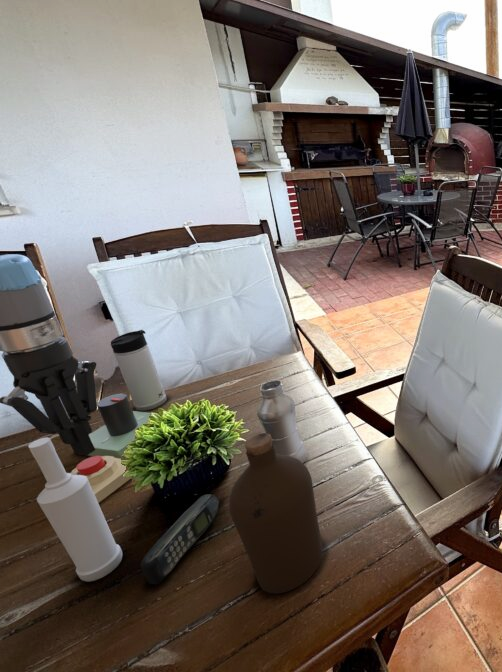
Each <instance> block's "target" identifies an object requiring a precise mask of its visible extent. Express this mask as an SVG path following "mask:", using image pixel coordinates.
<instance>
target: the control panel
mask: <svg viewBox="0 0 502 672" xmlns="http://www.w3.org/2000/svg"><path fill="white" fill-rule="evenodd" d="M132 411H133V413H134V416H135V418H136V421H137V423H138V425H137V427H136V428H135V429H134V430H132V431H130V432H128V433H126V434H123V435H120V436H111V435H110V434H109V432H108V430H107V427H106V425H105V424H104V425H102V426H100V427H99V428H98V429H96V430H93V431H92V432H91V433H90V434H88V435H89V437H90V439H91V441H92V444H93V446H94V448H95V451H93V452H92V453H90V454H88V455H86V456H88V457H93V456H113V457H114V458H120V459H121V458H122V455H123V453H124V451H125V449H126V447H127V445H128V444H129V443H130V442H132V441H133V440H134V439H135V430H136V429H137V428H139V427H140V426H141V425H143V424H146V423H148V419H149V416H150V414H151V413H152V412H148V411H138V410H132Z"/></svg>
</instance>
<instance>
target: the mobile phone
mask: <svg viewBox="0 0 502 672" xmlns="http://www.w3.org/2000/svg"><path fill="white" fill-rule="evenodd" d="M219 504H220V500H218V497H217V495H216V494H208V493H207V494H203V495H201V496H200V497H199V498H198V499H197V500H196V501H195V502H194V503H193V504H192V505H191V506H190V507H188V509H186V511H184V512H183V513H182V515H180V517H179V518H177V520H176V521H175V522H174V523H173V525H171V526H170V528H169V529H167V531H166V532H165V533H164V534H163V535H161V537H160V538H159V539H158V541H157V542H156V543H155V544H153V546H152V547H151V548H150V549H149V550H148V552H146V554H145V555H144V557H143V559H142V560H141V563H140V568H141V571H142V573H143V575H144V578H146V581H147V583H149V584H151V585H159V584H161V583H162V582H163V581H164V580H165V579H166V578H167V576H168V575H169V574H170V573H171V572H172V570H173V569H174V568H175V567H176V565H177V564H178V563H179V561H181V559H182V558H183V557H184V556H185V555H186V553H187V552H188V550H190V548H191V547H192V546H193V545H194V544H195V543H196V542H197V541H198V540H199V538H200V537H201V536H202V535H203V534H204V533H205V532H206V531H207V530H208V528H209V527H210V525H211V524H212V522H213V521H214V519H215V517H216V515H217V514H218V511H219Z"/></svg>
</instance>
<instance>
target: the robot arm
mask: <svg viewBox="0 0 502 672" xmlns="http://www.w3.org/2000/svg"><path fill="white" fill-rule="evenodd" d="M0 352H2V354H1V357H2V359H3V361H4V363H5V365H6V367H7V369H8V371H9V373H10V374H11V375H12V376H13V382H12V386H13V387H14V388H13V389H12V390H11V391H10V392H9V394H8V395H4V396H3V395H2V396H1V397H0V404H3V405H5V406H8V407H12V408H13V409H14V410H15V411H16V412H17V413H18V414H19V415H20V416H21V417H23V418H24V419H25V420H26V421H27V422H28V423H29V424H30V425H31V426H33V427H34V429H36V430H37V431H38V432H39V433H41V434H47V435H56V434H58V436H59V438H60V440H61V441H62V444H65V445H70V447H71V449H72V451H73V453H74V455H79V456H80V455H81V456H87V455H88V454H90V453H92V452H93V451H95V448H94V446H93V444H92V441H91V439H90V437H89V434H91V433H92V432H93V429H92V426H91V424H90V420H92V415H91V413H95V412H96V411H97V409H98V407H97V403H98V402H97V394H96V384H95V383H96V382H95V371H96V368H97V362H96V361H87V360H81V361H79V360H78V359H77V358H76V357H74V356H73V350H72V348H71V346H70V343H69V341H68V339H67V338H66V337H64V331H63V329H62V327H61V324H60V321H59V320H58V318H57V315H56V312H55V310H54V308H53V305H52V303H51V301H50V299H49V296H48V294H47V291H46V289H45V286H44V284H43V283H42V276H41V275H39V273H38V271H37V270H36V268H35V266H34V264H33V262H32V261H31V259H30V258H29V257H27V256H26V255H22V254H17V253H16V254H15V253H14V254H13V253H12V254H10V253H9V254H8V253H7V254H2V255H0ZM74 378H75V380H74ZM75 381H76V382H75ZM25 392H26V393H29V394H33V395H34V396H35V397H36V398H37V400H39V402H40V404H41V407H42V408H43V410H44V412H45V413H46V414H45V413H44V412H42V411H41V410H40V409H39V408H38V407H37V406H36V405H35V404H34V403H33V402H31V401H30V400H29V396H28V395H27V394H26V393H25Z"/></svg>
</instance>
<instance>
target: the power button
mask: <svg viewBox="0 0 502 672" xmlns="http://www.w3.org/2000/svg"><path fill="white" fill-rule="evenodd" d="M104 466H105V462H104V460H103V458H102V456H89V457H88V458H85V459H83V460H82V461H80V462H79V463H78V464H77V465H76V467H75V468H77V470H78V472H79V474H80V475H83V476H87V475H91V474H93V473H95V472H98V471H99V470H101V469H102V468H103V467H104Z"/></svg>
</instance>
